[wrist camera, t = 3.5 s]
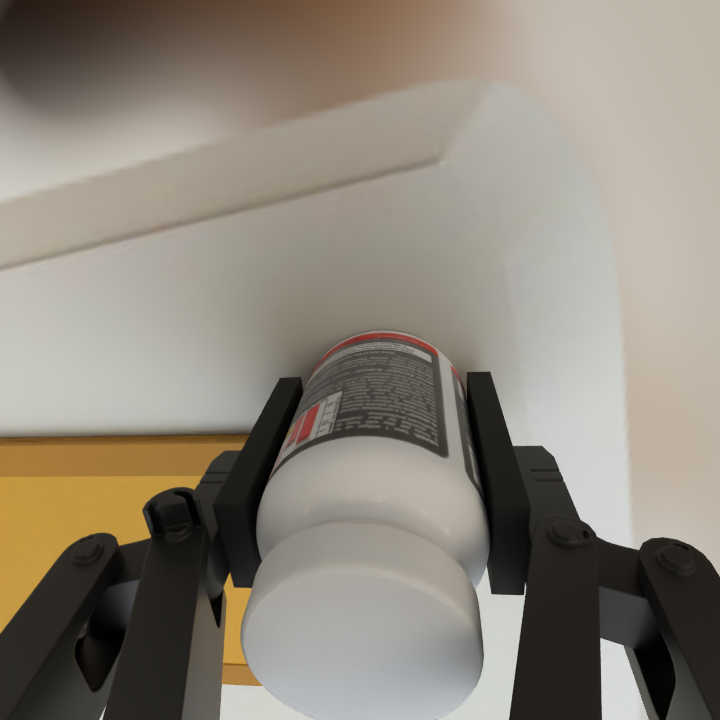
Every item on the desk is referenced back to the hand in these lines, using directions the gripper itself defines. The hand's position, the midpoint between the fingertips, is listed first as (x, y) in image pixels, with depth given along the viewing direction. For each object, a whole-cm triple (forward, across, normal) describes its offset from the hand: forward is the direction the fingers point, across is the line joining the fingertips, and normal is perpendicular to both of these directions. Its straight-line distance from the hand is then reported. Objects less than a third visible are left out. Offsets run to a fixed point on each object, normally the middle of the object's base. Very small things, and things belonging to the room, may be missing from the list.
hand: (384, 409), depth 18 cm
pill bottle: (+1, 0, 0) cm, 1 cm away
